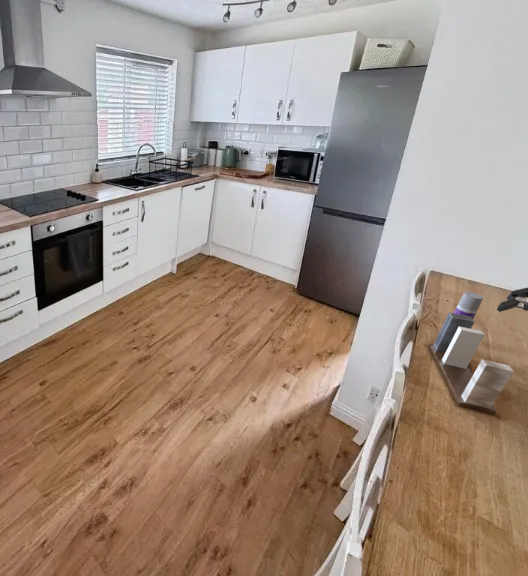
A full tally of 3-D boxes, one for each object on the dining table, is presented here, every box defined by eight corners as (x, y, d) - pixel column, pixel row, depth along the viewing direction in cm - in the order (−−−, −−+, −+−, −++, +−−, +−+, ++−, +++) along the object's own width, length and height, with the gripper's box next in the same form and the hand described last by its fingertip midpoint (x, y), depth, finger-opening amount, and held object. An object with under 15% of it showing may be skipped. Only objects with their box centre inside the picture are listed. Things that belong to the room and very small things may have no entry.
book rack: (455, 352, 107) (474, 316, 102) (494, 415, 85) (520, 374, 80) (427, 345, 110) (444, 311, 104) (458, 405, 87) (481, 364, 82)
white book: (463, 364, 100) (481, 330, 95) (466, 369, 99) (484, 334, 94) (441, 359, 102) (458, 326, 97) (443, 363, 100) (461, 329, 95)
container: (458, 343, 112) (481, 300, 105) (440, 336, 115) (461, 293, 108) (463, 339, 114) (486, 296, 107) (446, 332, 117) (466, 290, 111)
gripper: (565, 270, 86) (497, 290, 87) (630, 317, 77) (553, 339, 77) (546, 290, 92) (482, 308, 92) (604, 337, 82) (533, 356, 83)
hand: (514, 322), depth 85 cm, fingers open, 8 cm apart
